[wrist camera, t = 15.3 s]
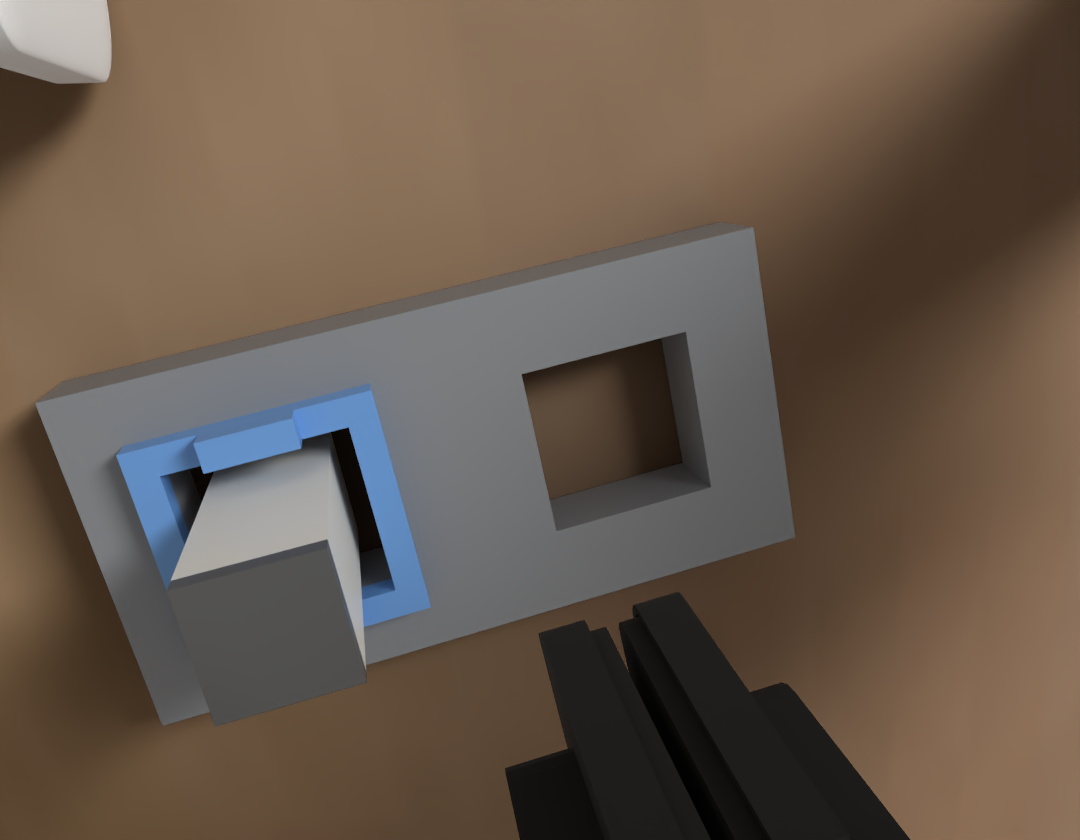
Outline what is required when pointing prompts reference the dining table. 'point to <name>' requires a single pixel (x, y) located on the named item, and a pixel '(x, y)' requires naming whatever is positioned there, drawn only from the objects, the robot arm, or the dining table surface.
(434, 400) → the gray peg hole board
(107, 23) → the cable organizer
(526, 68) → the dining table surface
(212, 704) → the grey square peg
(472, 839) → the dining table surface
